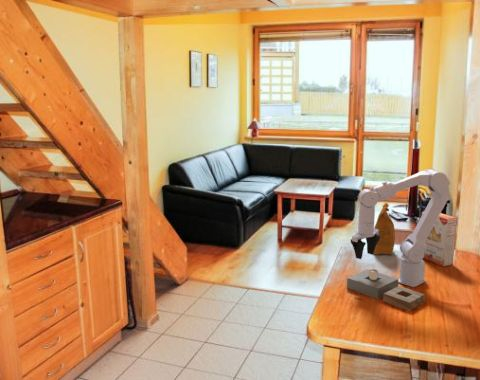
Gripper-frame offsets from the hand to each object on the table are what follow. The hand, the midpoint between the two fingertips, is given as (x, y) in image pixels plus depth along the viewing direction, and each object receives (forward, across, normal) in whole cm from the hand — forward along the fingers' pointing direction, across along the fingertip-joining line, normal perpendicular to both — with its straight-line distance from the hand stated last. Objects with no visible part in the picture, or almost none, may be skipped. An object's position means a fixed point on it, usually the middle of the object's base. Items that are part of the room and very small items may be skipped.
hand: (364, 256), depth 187 cm
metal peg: (+10, +3, +6) cm, 12 cm away
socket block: (+10, +5, +20) cm, 23 cm away
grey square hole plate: (+10, +3, +6) cm, 12 cm away
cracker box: (+11, -43, +7) cm, 45 cm away
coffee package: (+11, -37, -15) cm, 41 cm away
